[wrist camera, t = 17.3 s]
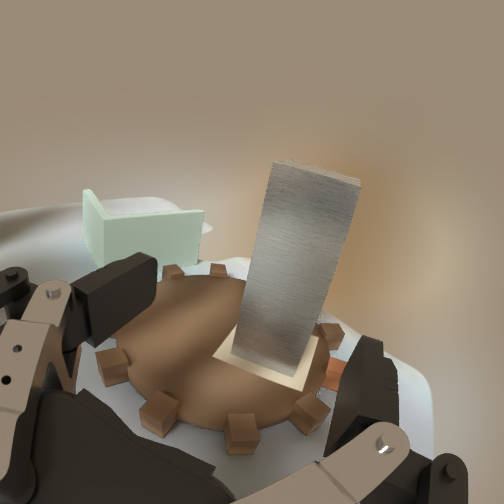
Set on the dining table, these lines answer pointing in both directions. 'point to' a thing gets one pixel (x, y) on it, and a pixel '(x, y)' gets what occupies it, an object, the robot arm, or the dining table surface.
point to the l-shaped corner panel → (141, 234)
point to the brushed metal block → (293, 262)
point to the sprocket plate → (214, 364)
